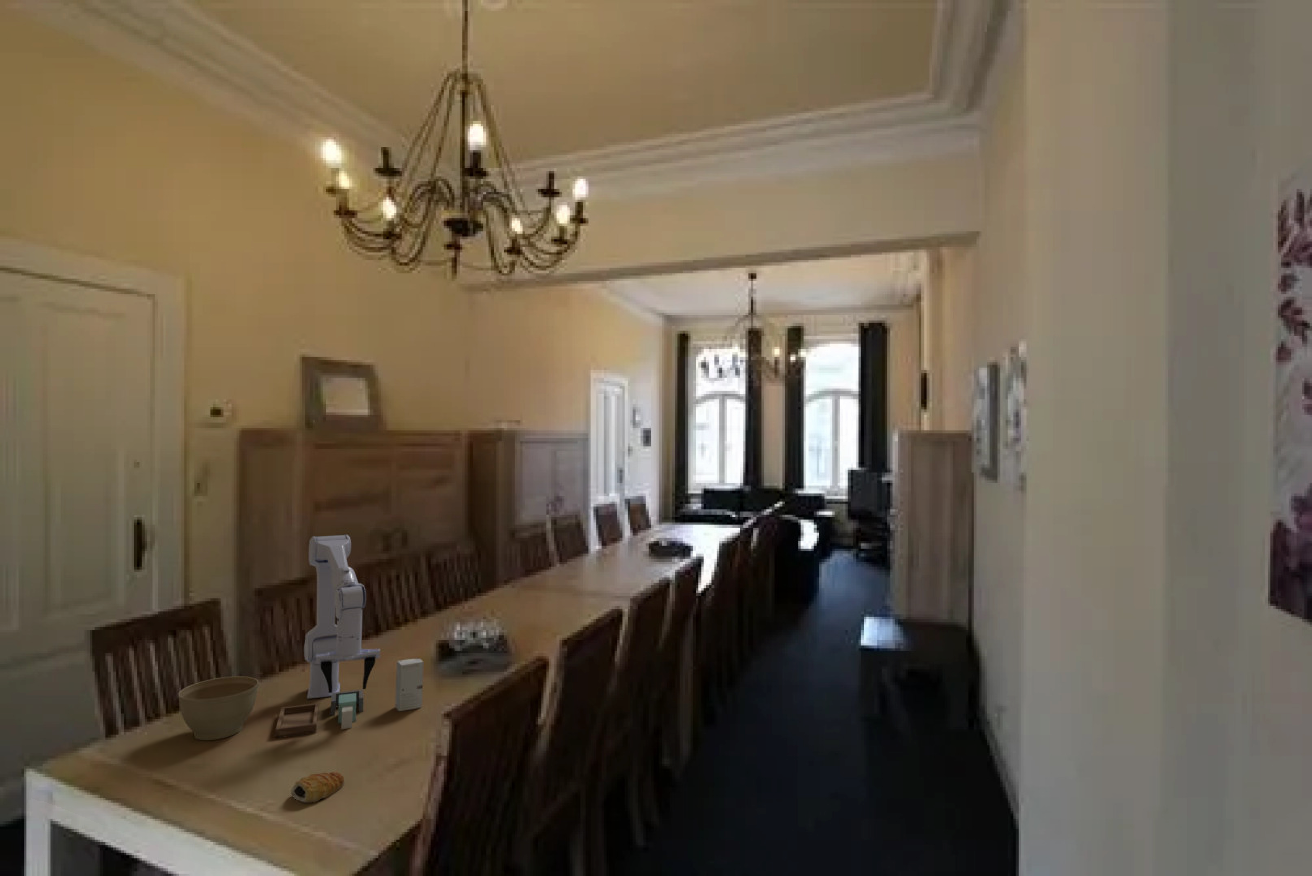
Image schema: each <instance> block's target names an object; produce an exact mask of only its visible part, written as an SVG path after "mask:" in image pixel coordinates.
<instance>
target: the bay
mask: <svg viewBox="0 0 1312 876" xmlns="http://www.w3.org/2000/svg"><path fill="white" fill-rule="evenodd" d="M353 693H356V704H357V705H358V712H359V711H361V712H364V689H363V688H362V689H355V690H346V691H340V692H336V693H332V696H330V697H331V698H330V699H331V700H330V701H331V702H330V716H335V715H336V708H337V707H336V706H339V695H345V694H353Z"/></svg>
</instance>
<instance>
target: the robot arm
mask: <svg viewBox="0 0 1312 876" xmlns="http://www.w3.org/2000/svg"><path fill="white" fill-rule="evenodd" d="M351 541H352V540H351V536H349V535H348V534H344V535H343V534H342V535H326V536H325V535H324V536H314V535H313V536H311V538H310V539H309V544H308V563H309V565H310V566H313V567H315V569H316V625H314V627H312V629H310V630H309V631H307V633H306V634H305V640H304V647H303V652H304V654H303V655H304V660H305V661H306V662H307V663H309V665H310V666H309V686H308V689H307V696H306V699H307V700H310V699H317V698H327V697H328V698H329V697H332V693H336V692H341V691H340V690H341V683H340V682H339V679H340V678H339V670H340V662H347V661H348V662H349V661H358V660H363V662H364V663H363V680H362V689H363V690H366V689H367V685H368V680H369V677H370V675H371V672H372V670H373V668H374V666H375V664H376V659H377V660H378V659H380V658H381V648H362V635H363V634H362V633H363V631H362V630H363V609H364V608H365V607H366V602H367V591H366V588H365V585H364V584H362V583H359V581H358V578H357V575H356V573H355V570H354V569H353V568H352V567H350V566H349V564H348V560H347V559H348V557H349V556H350V554H351V551H352V542H351Z"/></svg>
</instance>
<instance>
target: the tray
mask: <svg viewBox="0 0 1312 876" xmlns="http://www.w3.org/2000/svg"><path fill="white" fill-rule="evenodd" d="M319 714H320V703H319V702H317V703H310V704H301V705H300V704H299V705H293V706H285V707H284V706H282V707H281V708H280V711H279V715H278V719H277V723H276V727H275V736H274V738H275V739H279V738H278V737H280V738H285V737H284V736H287V737H293V736H300V735H309V734H316V733H317V731H318V730H317V729H318V720H319Z"/></svg>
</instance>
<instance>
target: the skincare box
mask: <svg viewBox="0 0 1312 876" xmlns="http://www.w3.org/2000/svg"><path fill="white" fill-rule="evenodd" d="M424 665H425V664H424V661H423V660H422V659H421V658H419V657H418V658H411V659H410V658H409V659H403V660H397V662H396V677H395V678H396V679H395V704H394V707H395V708H396V710H397V711H398V712H404V711H409V710H414V709H416V710H417V709H420V708H422V706H423V703H422V702H423V686H424V685H423V682H424Z"/></svg>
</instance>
